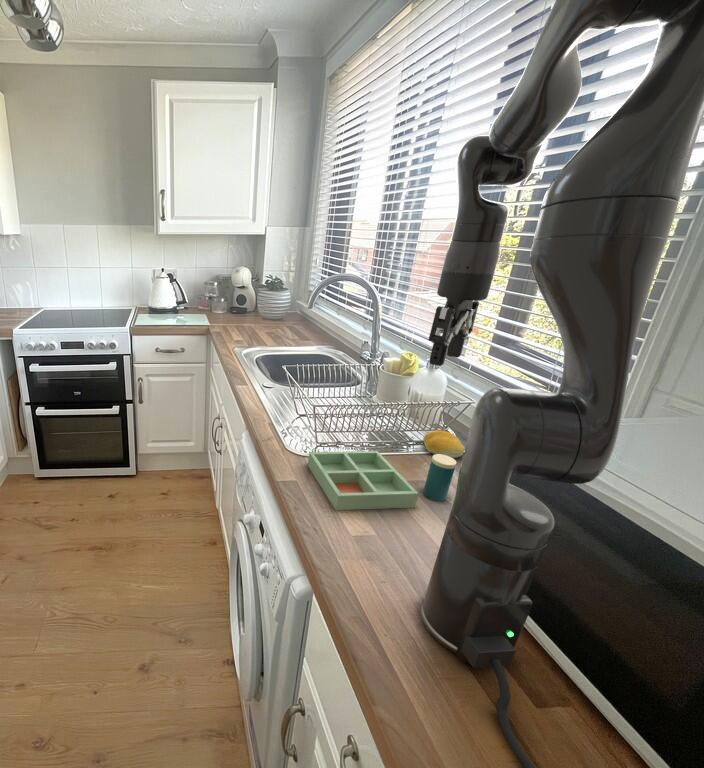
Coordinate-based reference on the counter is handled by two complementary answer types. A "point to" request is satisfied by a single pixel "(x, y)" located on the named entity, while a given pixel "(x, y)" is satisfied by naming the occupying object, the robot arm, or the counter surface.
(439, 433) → the bread roll
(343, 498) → the grid
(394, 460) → the counter surface
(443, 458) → the teal cream-capped cylinder
